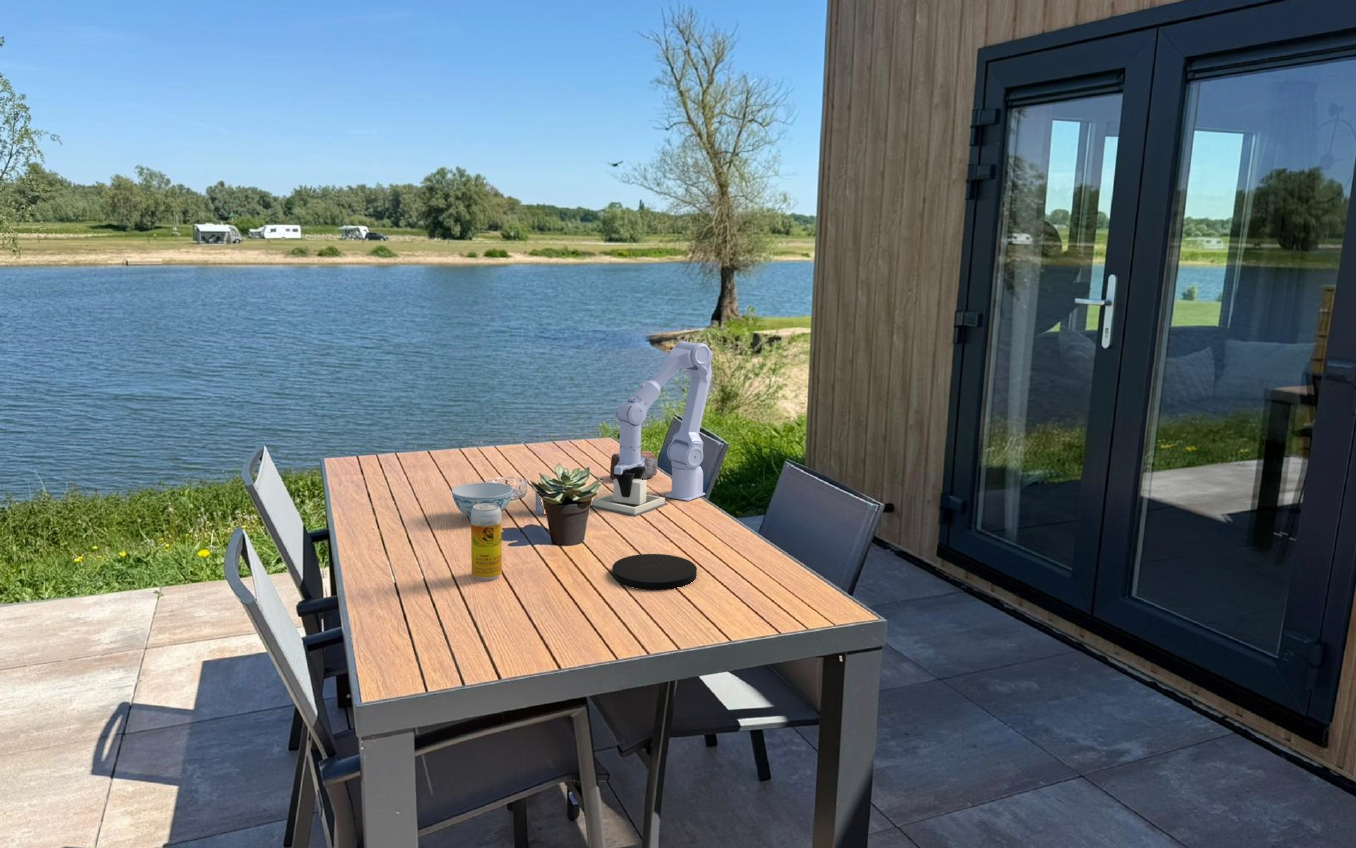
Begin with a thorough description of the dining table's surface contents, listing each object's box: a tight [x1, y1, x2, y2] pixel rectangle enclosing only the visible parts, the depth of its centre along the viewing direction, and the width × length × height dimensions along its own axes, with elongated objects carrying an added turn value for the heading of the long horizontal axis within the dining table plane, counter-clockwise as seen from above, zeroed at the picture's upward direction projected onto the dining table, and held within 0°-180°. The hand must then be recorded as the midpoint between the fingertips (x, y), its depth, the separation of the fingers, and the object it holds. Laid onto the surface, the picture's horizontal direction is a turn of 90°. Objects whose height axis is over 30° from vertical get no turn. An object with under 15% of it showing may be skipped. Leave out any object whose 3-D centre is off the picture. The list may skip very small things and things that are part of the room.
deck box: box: [613, 478, 648, 505], centre depth 234 cm, size 4×8×6 cm, turn 66°
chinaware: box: [451, 482, 514, 522], centre depth 218 cm, size 15×15×8 cm
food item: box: [609, 450, 658, 481], centre depth 264 cm, size 14×8×10 cm, turn 124°
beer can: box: [470, 503, 503, 582], centre depth 177 cm, size 6×6×15 cm
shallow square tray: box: [591, 492, 668, 517], centre depth 235 cm, size 15×15×2 cm
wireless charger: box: [611, 553, 698, 591], centre depth 182 cm, size 18×18×2 cm
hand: (629, 495), depth 234 cm, fingers closed on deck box, 4 cm apart
